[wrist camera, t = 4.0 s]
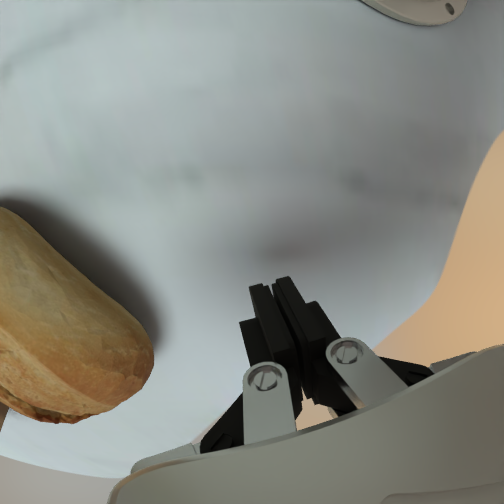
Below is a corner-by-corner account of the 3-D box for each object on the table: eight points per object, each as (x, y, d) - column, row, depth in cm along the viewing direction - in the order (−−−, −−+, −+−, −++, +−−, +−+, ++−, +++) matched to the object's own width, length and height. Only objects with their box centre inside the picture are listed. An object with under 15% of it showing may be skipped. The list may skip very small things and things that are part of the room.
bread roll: (114, 384, 20) (102, 474, 13) (-41, 271, 14) (-99, 337, 7) (190, 309, 19) (194, 417, 11) (0, 158, 12) (-94, 202, 5)
